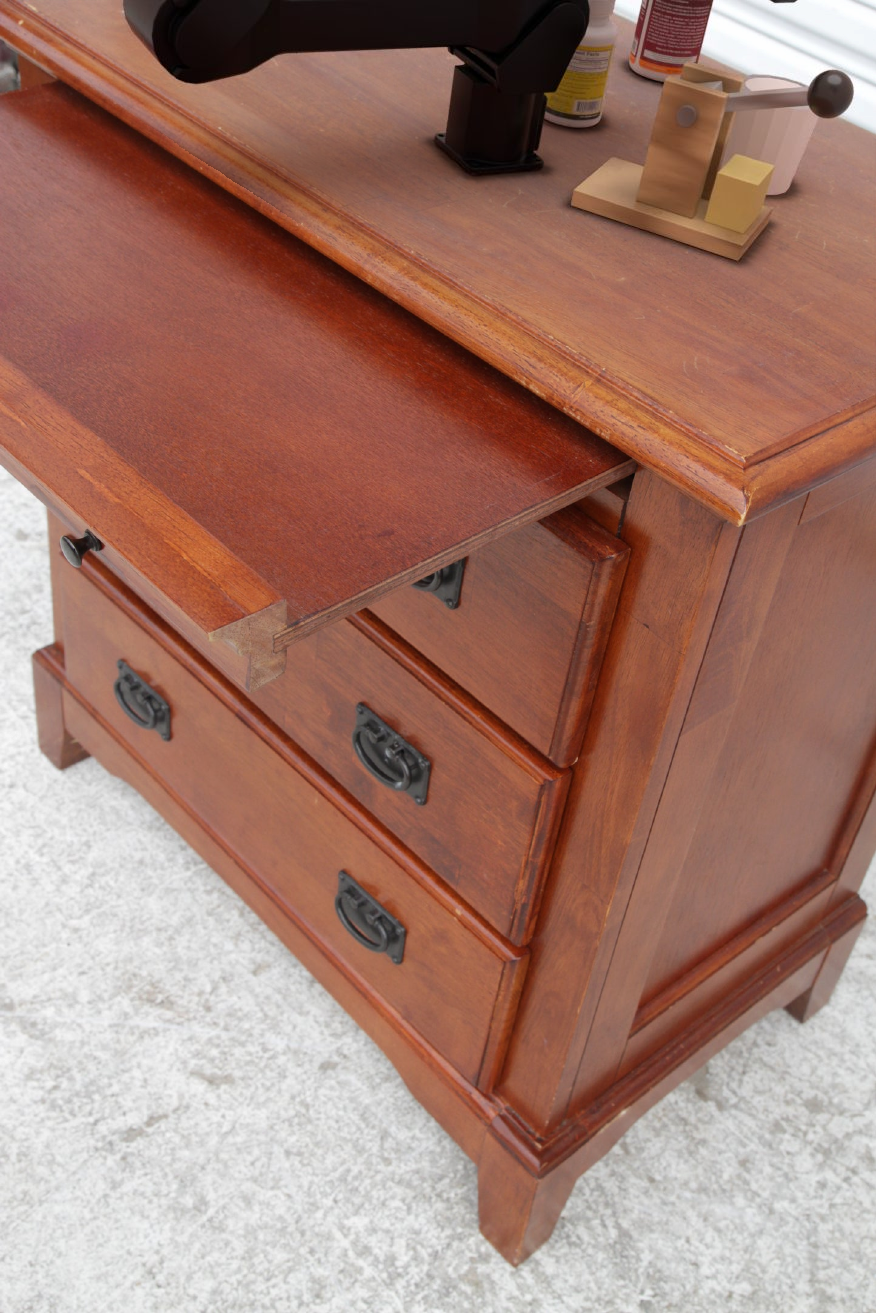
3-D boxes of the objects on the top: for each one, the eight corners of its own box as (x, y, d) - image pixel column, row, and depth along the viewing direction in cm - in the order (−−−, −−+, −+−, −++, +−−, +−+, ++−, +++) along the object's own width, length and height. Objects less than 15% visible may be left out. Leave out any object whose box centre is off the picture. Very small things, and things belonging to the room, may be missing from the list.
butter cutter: (768, 223, 97) (810, 89, 90) (737, 261, 91) (780, 122, 85) (609, 171, 100) (638, 39, 93) (570, 205, 94) (598, 67, 88)
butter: (743, 234, 92) (758, 185, 89) (703, 221, 93) (717, 172, 90) (760, 213, 95) (775, 165, 92) (721, 201, 96) (735, 153, 93)
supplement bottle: (548, 98, 110) (570, -26, 103) (608, 115, 109) (634, -10, 102) (526, 117, 106) (549, -11, 99) (588, 135, 105) (615, 7, 98)
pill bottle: (707, 82, 118) (742, -50, 111) (657, 88, 115) (689, -47, 108) (663, 57, 122) (694, -72, 114) (613, 62, 119) (642, -70, 111)
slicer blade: (858, 110, 87) (858, 62, 85) (848, 122, 85) (848, 74, 83) (688, 122, 93) (684, 78, 91) (674, 135, 91) (671, 89, 89)
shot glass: (737, 154, 106) (763, 66, 101) (811, 184, 103) (841, 95, 99) (695, 174, 102) (720, 83, 97) (771, 206, 99) (800, 114, 94)
